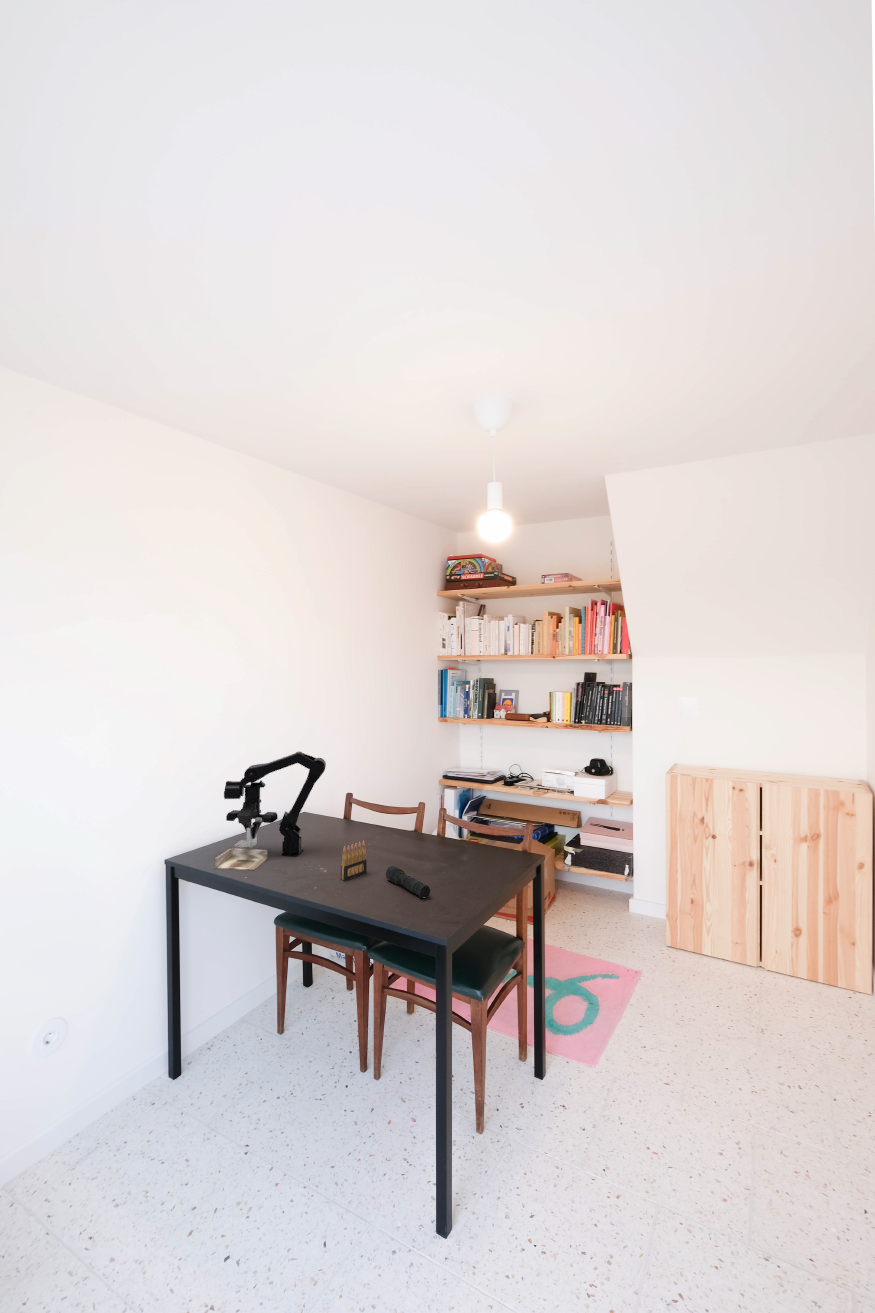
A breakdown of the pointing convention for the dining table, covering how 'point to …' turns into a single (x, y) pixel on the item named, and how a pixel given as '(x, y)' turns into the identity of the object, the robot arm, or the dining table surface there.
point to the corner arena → (241, 859)
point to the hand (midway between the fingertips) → (251, 838)
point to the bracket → (249, 842)
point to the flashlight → (407, 881)
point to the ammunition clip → (353, 861)
